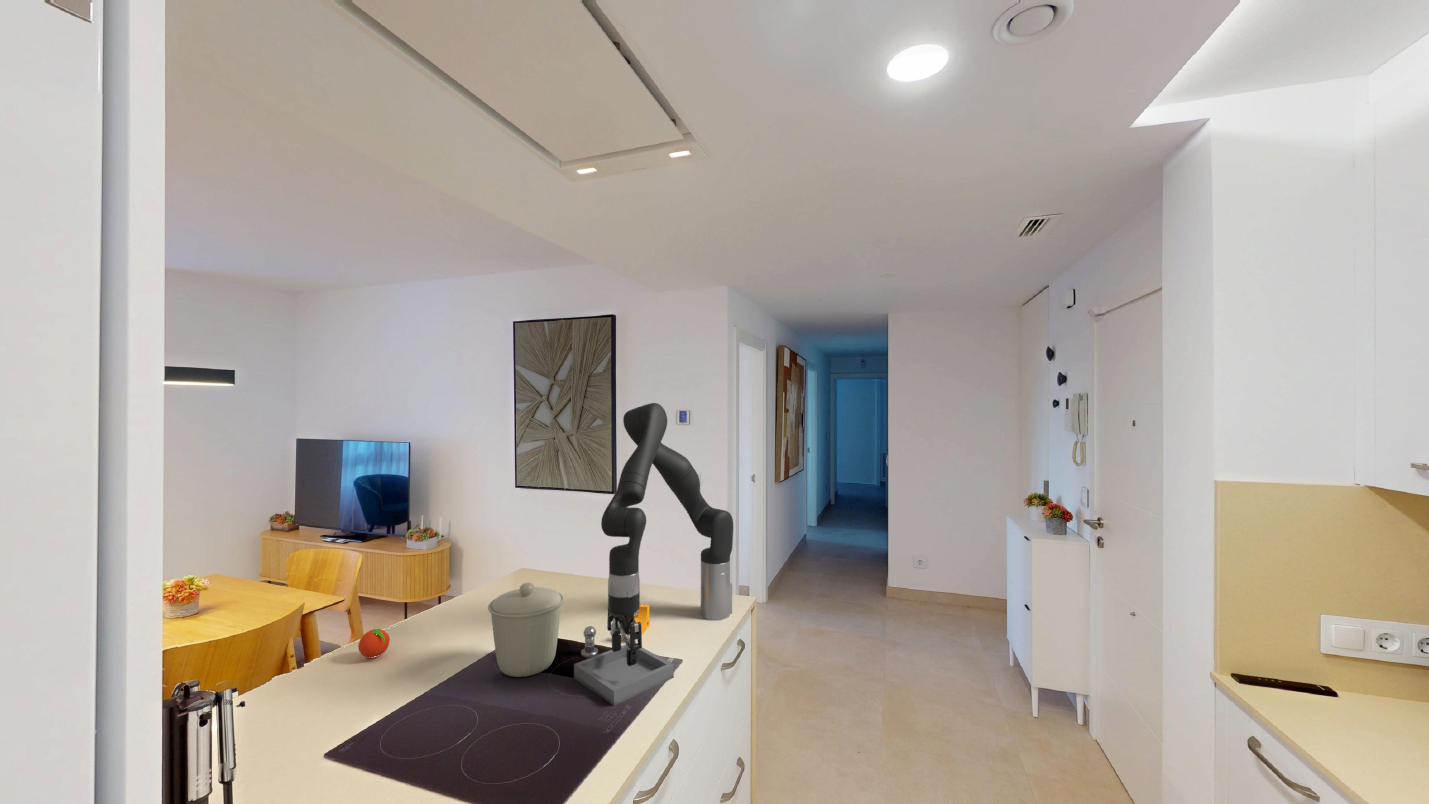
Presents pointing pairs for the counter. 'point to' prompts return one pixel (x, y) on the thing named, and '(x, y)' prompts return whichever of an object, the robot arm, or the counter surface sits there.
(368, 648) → the clementine
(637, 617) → the pipe clamp
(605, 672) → the parts bin
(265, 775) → the counter surface
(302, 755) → the counter surface
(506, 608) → the canister
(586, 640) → the door knob
